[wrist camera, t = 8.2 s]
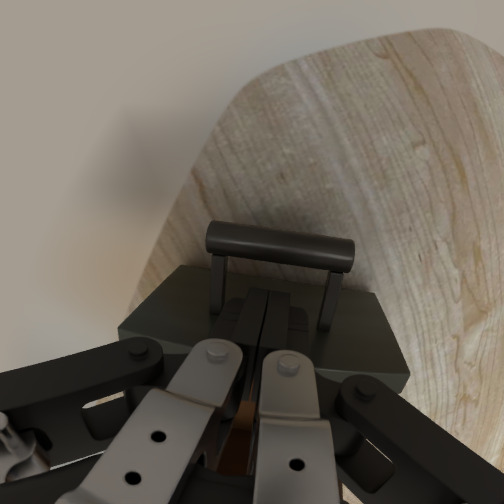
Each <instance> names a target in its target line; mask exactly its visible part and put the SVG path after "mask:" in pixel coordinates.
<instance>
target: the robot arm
mask: <svg viewBox="0 0 504 504" xmlns="http://www.w3.org/2000/svg"><path fill="white" fill-rule="evenodd" d="M269 292H270V289H264V288H258V287H251V286H250V289H249V291H248V294H247V297H246V299H245V298H239V297H233V298H232V299H230V300H229V301H227V302H225V304H224V307H223V309H222V312H221V313H220V315H219V317H218V319H217V321H216V323H215V325H214V327H213V329H212V331H211V333H210V335H209V337H208V339H206V340H203V341H200V342H199V343H197V344H196V345H195V346H194V347H193V349H192V350H191V352H190V353H185V354H163V349H162V346H161V345H160V344H159V343H158V342H157V341H155V340H153V339H151V338H147V337H131V338H127V339H124V340H120V341H117V342H114V343H110V344H107V345H104V346H100V347H97V348H93V349H90V350H86V351H83V352H79V353H76V354H72V355H68V356H65V357H61V358H58V359H54V360H50V361H46V362H42V363H38V364H35V365H31V366H27V367H23V368H19V369H14V370H10V371H6V372H2V373H0V504H349V503H348V502H346V501H344V500H343V499H341V498H339V490H338V480H337V478H338V479H339V480H340V481H341V482H342V483H343V484H344V485H345V486H346V487H347V488H348V489H349V490H350V491H351V492H352V493H353V494H354V495H355V496H356V497H357V498H358V499H359V500H360V501H361V502H362V503H364V504H504V473H502V472H501V471H499V470H498V469H497V468H495V467H494V466H492V465H491V464H490V463H488V462H487V461H486V460H484V459H483V458H481V457H480V456H479V455H477V454H476V453H475V452H473V451H472V450H471V449H469V448H468V447H467V446H465V445H464V444H463V443H461V442H460V441H459V440H457V439H456V438H455V437H453V436H452V435H451V434H449V433H448V432H447V431H445V430H444V429H443V428H441V427H440V426H439V425H437V424H436V423H435V422H433V421H432V420H431V419H429V418H428V417H427V416H425V415H424V414H423V413H422V412H420V411H419V410H418V409H416V408H415V407H414V406H412V405H411V404H410V403H409V402H407V401H406V400H405V399H403V398H402V397H401V396H399V395H398V394H397V393H396V392H394V391H393V390H392V389H390V388H389V387H388V386H387V385H385V384H384V383H383V382H381V381H380V380H379V379H377V378H375V377H372V376H369V375H364V374H357V375H351V376H349V377H347V378H346V379H344V380H343V382H342V383H339V382H336V381H333V380H330V379H328V378H325V377H323V376H322V375H320V374H319V373H317V372H316V371H315V370H314V366H313V363H312V361H311V360H310V359H309V315H308V314H307V313H306V311H305V310H304V308H303V307H297V306H290V293H291V292H284V291H278V290H271V293H270V298H269ZM268 299H269V303H268ZM267 306H268V307H267ZM254 374H255V375H254ZM253 379H254V382H253ZM252 383H253V389H252V395H251V401H250V402H254V403H256V406H255V411H254V417H253V422H252V431H251V441H250V450H249V459H248V468H247V475H237V476H227V475H222V474H219V473H217V472H216V471H217V467H218V464H219V461H220V458H221V456H222V453H223V451H224V448H225V446H226V443H227V440H228V438H229V435H230V433H231V430H232V427H233V425H234V422H235V419H236V414H237V412H238V410H239V407H240V403H241V400H242V401H247V402H248V401H249V396H250V392H251V388H252ZM122 391H123V394H124V396H122V397H120V398H117V399H114V400H111V401H108V402H105V403H102V404H99V405H96V406H93V407H90V408H82V407H83V406H84V405H85V404H87V403H89V402H92V401H95V400H98V399H101V398H104V397H107V396H110V395H113V394H116V393H119V392H122ZM366 439H368V440H369V441H370V442H371V443H372V444H373V445H374V446H375V447H376V448H378V449H379V450H380V451H381V452H382V453H383V454H384V455H385V456H387V457H388V458H389V459H390V460H391V461H392V462H391V461H390V460H388V459H387V458H386V457H385V456H384V455H383V454H382V453H380V452H379V451H378V450H377V449H376V448H375V447H374V446H373V445H372V444H370V443H369V442H368V441H367V440H366ZM104 450H105V452H104V453H102V454H98V455H94V456H91V457H88V458H85V459H82V460H80V461H77V462H74V463H71V464H68V465H65V466H62V467H59V468H56V469H53V470H50V468H51V467H53V466H57V465H60V464H63V463H67V462H70V461H73V460H77V459H80V458H83V457H86V456H89V455H92V454H95V453H98V452H101V451H104Z"/></svg>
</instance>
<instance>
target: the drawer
mask: <svg viewBox="0 0 504 504" xmlns="http://www.w3.org/2000/svg"><path fill="white" fill-rule="evenodd" d="M206 250H207V252H208V253H212V254H213V255H212V262H211V270H210V269H204V268H198V267H192V266H186V265H180V266H179V267H178V268H177V269H176V270H175V271H174V272H173V273H172V274H171V275H170V276H168V277H167V278H166V279H165V280H164V281H163V282H162V283H161V284H160V285H159V286H158V287H157V288H156V289H155V290H154V291H153V292H152V293H151V294H150V295H149V296H148V297H147V298H146V299H145V300H144V301H143V302H142V303H141V304H140V305H139V306H138V307H137V308H136V309H135V310H134V311H133V312H132V313H131V314H130V315H129V316H128V317H127V318H126V319H125V320H124V321H123V322H122V323H121V324H120V326H119V327H118V335H119V341H120V340H124V339H127V338H131V337H147V338H151V339H153V340H155V341H157V342H158V343H159V344H160V345H161V346H162V349H163V354H185V353H190V352H191V350H192V349H193V347H194V346H195V345H196V344H197V343H199V342H200V341H203V340H206V339H208V337H209V335H210V333H211V331H212V329H213V327H214V325H215V323H216V321H217V319H218V317H219V315H220V313H221V312H222V309H223V307H224V304H225V302H227V301H229V300H230V299H232V298H233V297H239V298H245V299H246V297H247V294H248V291H249V289H250V286H251V287H258V288H264V289H270V292H269V298H270V293H271V290H278V291H284V292H291V293H290V306H297V307H303V308H304V310H305V311H306V313H307V314H308V315H309V359H310V360H311V361H312V363H313V366H314V370H315V371H316V372H317V373H319V374H320V375H322V376H323V377H325V378H328V379H330V380H333V381H336V382H339V383H342V382H343V380H344V379H346V378H347V377H349V376H351V375H357V374H364V375H369V376H372V377H375V378H377V379H379V380H380V381H381V382H383V383H384V384H385V385H387V386H388V387H389V388H390V389H392V390H393V391H394V392H396V393H397V394H400V393H401V392H402V390H403V388H404V386H405V384H406V382H407V381H408V379H409V377H410V371H409V368H408V366H407V364H406V361H405V359H404V356H403V354H402V352H401V349H400V347H399V345H398V343H397V340H396V338H395V336H394V334H393V331H392V329H391V327H390V325H389V323H388V320H387V318H386V316H385V314H384V312H383V310H382V308H381V306H380V303H379V301H378V299H377V297H376V295H375V293H370V292H362V291H355V290H347V289H341V285H342V280H343V276H344V274H343V273H349V272H350V270H351V268H352V266H353V262H354V256H355V244H354V241H353V240H351V239H344V238H338V237H331V236H325V235H318V234H311V233H304V232H297V231H290V230H283V229H276V228H269V227H261V226H254V225H246V224H239V223H231V222H223V221H215V220H213V221H211V222H210V224H209V226H208V229H207V233H206ZM228 256H232V257H239V258H246V259H253V260H259V261H266V262H273V263H280V264H287V265H294V266H301V267H308V268H315V269H322V270H329V271H328V276H327V280H326V285H325V286H317V285H310V284H303V283H296V282H289V281H282V280H275V279H269V278H262V277H255V276H249V275H242V274H236V273H229V272H227V262H228ZM268 303H269V299H268ZM267 307H268V306H267ZM254 375H255V374H254ZM253 382H254V379H253ZM252 389H253V383H252V388H251V392H250V396H249V401H248V402H247V401H242V400H241V403H240V407H239V410H238V412H237V414H236V419H235V422H234V425H233V427H232V430H231V433H230V435H229V438H228V440H227V443H226V446H225V448H224V451H223V453H222V456H221V458H220V461H219V464H218V467H217V471H216V472H217V473H219V474H222V475H227V476H237V475H247V468H248V459H249V450H250V441H251V431H252V422H253V417H254V411H255V406H256V403H254V402H250V401H251V395H252Z"/></svg>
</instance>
